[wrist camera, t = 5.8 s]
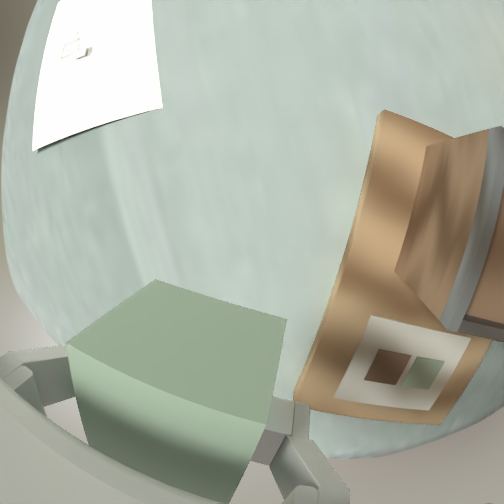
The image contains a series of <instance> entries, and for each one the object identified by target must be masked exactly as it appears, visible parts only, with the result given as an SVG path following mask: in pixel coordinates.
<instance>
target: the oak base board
mask: <svg viewBox="0 0 504 504" xmlns="http://www.w3.org/2000/svg"><path fill="white" fill-rule="evenodd" d="M492 340H496V341H501V342H504V128H503V127H501V126H499V127H495V128H491V129H487V130H483V131H479V132H476V133H472V134H468V135H465V136H461V137H457V138H453V137H451V136H448V135H446V134H444V133H442V132H440V131H438V130H435V129H433V128H431V127H428V126H426V125H424V124H421V123H419V122H416V121H414V120H411V119H409V118H406V117H403V116H401V115H398V114H395V113H393V112H390V111H387V110H383V111H382V112H381V113H380V114H379V115H378V116H377V122H376V127H375V132H374V137H373V142H372V147H371V151H370V156H369V161H368V165H367V169H366V174H365V178H364V182H363V186H362V190H361V194H360V198H359V202H358V206H357V210H356V213H355V217H354V221H353V224H352V228H351V232H350V235H349V239H348V242H347V245H346V249H345V252H344V255H343V259H342V262H341V265H340V268H339V271H338V275H337V278H336V281H335V284H334V287H333V290H332V293H331V296H330V299H329V302H328V305H327V307H326V310H325V313H324V316H323V319H322V321H321V324H320V327H319V330H318V332H317V335H316V338H315V340H314V343H313V346H312V348H311V351H310V353H309V356H308V358H307V361H306V363H305V366H304V368H303V371H302V373H301V376H300V378H299V381H298V383H297V385H296V388H295V390H294V395H293V401H296V402H301V403H306V404H309V405H310V409H311V410H316V411H321V412H326V413H332V414H337V415H344V416H350V417H357V418H364V419H372V420H380V421H390V422H400V423H414V424H434V425H440V424H441V423H442V421H443V420H444V419H445V417H446V416H447V415H448V413H449V412H450V410H451V409H452V408H453V406H454V405H455V403H456V402H457V400H458V399H459V397H460V396H461V394H462V393H463V391H464V390H465V388H466V386H467V385H468V383H469V381H470V380H471V378H472V377H473V375H474V373H475V371H476V370H477V368H478V366H479V364H480V363H481V361H482V359H483V357H484V355H485V353H486V352H487V350H488V348H489V346H490V344H491V342H492Z"/></svg>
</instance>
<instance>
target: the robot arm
mask: <svg viewBox="0 0 504 504" xmlns="http://www.w3.org/2000/svg"><path fill="white" fill-rule="evenodd" d="M72 397H75V391H74V387H73V382H72V377H71V371H70V366H69V360H68V353H67V346H65V347H63V346H62V345H60V346H52V347H44V348H37V349H28V350H19V351H9V352H8V353H6V354H5V355H3V356H2V357H0V504H225V503H221V502H218V501H214V500H211V499H208V498H204V497H201V496H198V495H195V494H192V493H189V492H186V491H184V490H181V489H178V488H176V487H173V486H170V485H168V484H165V483H163V482H160V481H158V480H156V479H153V478H151V477H149V476H146V475H144V474H142V473H140V472H138V471H136V470H134V469H131V468H129V467H127V466H125V465H123V464H121V463H119V462H118V461H116V460H114V459H112V458H110V457H108V456H106V455H105V454H103V453H101V452H99V451H97V450H96V449H94V448H92V447H91V446H89V445H87V444H86V443H84V442H82V441H81V440H79V439H77V438H76V437H75V436H73V435H71V434H70V433H68V432H67V431H66V430H64V429H63V428H61V427H60V426H58V425H57V424H55V423H54V422H53V421H51V420H50V419H49V418H47V415H46V412H45V410H44V406H47V405H50V404H53V403H57V402H60V401H63V400H66V399H69V398H72ZM309 424H310V405H309V404H306V403H301V402H296V401H291V400H286V399H282V398H278V397H274V396H272V400H271V405H270V409H269V414H268V419H267V423H266V426H265V429H264V431H263V433H262V435H261V438H260V440H259V442H258V444H257V447H256V449H255V451H254V453H253V455H252V457H251V460H250V461H254V462H258V463H261V464H266V465H269V466H270V469H271V471H272V474H273V476H274V478H275V481H276V483H277V485H278V487H279V489H280V491H281V494H282V496H283V498H284V502H283V503H282V504H350V491H349V490H350V489H349V488H348V487H347V486H346V484H345V483H344V481H343V480H342V479H341V478H340V476H339V475H338V474H337V472H336V471H335V470H334V468H333V467H332V466H331V464H330V463H329V462H328V460H327V459H326V458H325V456H324V455H323V453H322V452H321V451H320V449H319V448H318V447H317V445H316V444H315V442H314V441H313V440H309ZM485 504H492V503H485Z"/></svg>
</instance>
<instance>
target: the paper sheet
mask: <svg viewBox="0 0 504 504" xmlns="http://www.w3.org/2000/svg"><path fill="white" fill-rule="evenodd" d="M159 108H163V105H162V97H161V90H160V82H159V74H158V66H157V57H156V48H155V38H154V27H153V15H152V0H62V1H60V2H58V4H57V8H56V11H55V14H54V17H53V20H52V24H51V27H50V31H49V35H48V39H47V43H46V47H45V51H44V56H43V61H42V66H41V71H40V77H39V83H38V90H37V97H36V105H35V115H34V127H33V145H32V151H34V150H36V149H38V148H41V147H43V146H45V145H48V144H50V143H53V142H55V141H57V140H60V139H63V138H65V137H68V136H70V135H73V134H76V133H78V132H81V131H84V130H87V129H90V128H93V127H96V126H99V125H102V124H105V123H108V122H111V121H115V120H118V119H121V118H125V117H128V116H132V115H136V114H139V113H143V112H147V111H151V110H155V109H159Z"/></svg>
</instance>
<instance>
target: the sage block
mask: <svg viewBox="0 0 504 504" xmlns="http://www.w3.org/2000/svg"><path fill="white" fill-rule="evenodd" d="M286 320H287V319H284V318H281V317H277V316H273V315H270V314H266V313H263V312H259V311H255V310H252V309H249V308H245V307H242V306H238V305H235V304H231V303H228V302H225V301H221V300H218V299H215V298H212V297H208V296H205V295H202V294H199V293H196V292H192V291H189V290H186V289H183V288H180V287H177V286H174V285H171V284H168V283H165V282H162V281H159V280H156V279H155V280H154V281H152V282H151V283H149V284H148V285H147V286H145V287H144V288H142V289H141V290H139V291H138V292H136V293H135V294H134V295H132V296H131V297H129V298H128V299H126V300H125V301H123V302H122V303H121V304H119V305H118V306H116V307H115V308H113V309H112V310H111V311H109V312H108V313H106V314H105V315H104V316H102V317H101V318H99V319H98V320H97V321H95V322H94V323H92V324H91V325H90V326H88V327H87V328H85V329H84V330H83V331H81V332H80V333H78V334H77V335H76V336H74V337H73V338H72V339H70V340H69V341H67V342H66V346H67V353H68V360H69V366H70V371H71V377H72V382H73V387H74V391H75V396H76V400H77V404H78V408H79V412H80V416H81V420H82V424H83V427H84V431H85V434H86V437H87V441H88V444H89V446H91V447H92V448H94V449H96V450H97V451H99V452H101V453H103V454H105V455H106V456H108V457H110V458H112V459H114V460H116V461H118V462H119V463H121V464H123V465H125V466H127V467H129V468H131V469H134V470H136V471H138V472H140V473H142V474H144V475H146V476H149V477H151V478H153V479H156V480H158V481H160V482H163V483H165V484H168V485H170V486H173V487H176V488H178V489H181V490H184V491H186V492H189V493H192V494H195V495H198V496H201V497H204V498H208V499H211V500H214V501H218V502H221V503H225V504H229V502H230V500H231V498H232V496H233V494H234V492H235V490H236V488H237V486H238V484H239V482H240V480H241V478H242V476H243V474H244V472H245V470H246V468H247V466H248V464H249V462H250V460H251V457H252V455H253V453H254V451H255V449H256V447H257V444H258V442H259V440H260V438H261V435H262V433H263V431H264V429H265V426H266V423H267V419H268V414H269V409H270V405H271V400H272V395H273V390H274V385H275V380H276V375H277V370H278V364H279V359H280V354H281V348H282V343H283V337H284V332H285V326H286Z"/></svg>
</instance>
